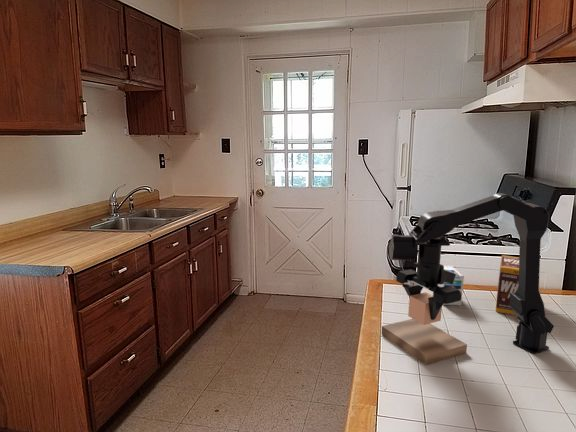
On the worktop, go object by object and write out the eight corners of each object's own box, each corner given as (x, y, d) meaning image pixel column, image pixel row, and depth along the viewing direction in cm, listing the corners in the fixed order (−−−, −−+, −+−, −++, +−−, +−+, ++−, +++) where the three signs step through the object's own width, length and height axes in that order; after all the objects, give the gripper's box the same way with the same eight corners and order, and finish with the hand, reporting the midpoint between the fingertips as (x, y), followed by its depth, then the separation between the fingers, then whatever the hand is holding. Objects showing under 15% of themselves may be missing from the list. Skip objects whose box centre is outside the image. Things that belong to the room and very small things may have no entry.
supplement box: (495, 312, 136) (500, 266, 133) (496, 296, 149) (501, 254, 146) (531, 318, 131) (538, 272, 128) (529, 301, 144) (535, 258, 141)
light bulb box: (461, 305, 140) (464, 275, 138) (441, 305, 141) (444, 275, 138) (450, 293, 151) (453, 265, 149) (431, 293, 151) (434, 265, 149)
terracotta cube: (440, 320, 112) (442, 300, 111) (423, 324, 110) (425, 303, 109) (424, 312, 118) (426, 292, 117) (408, 316, 115) (409, 295, 114)
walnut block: (466, 354, 110) (467, 344, 110) (426, 366, 105) (427, 356, 104) (418, 326, 126) (419, 317, 126) (381, 335, 120) (381, 326, 120)
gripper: (479, 266, 106) (473, 323, 109) (426, 248, 122) (422, 297, 125) (447, 272, 101) (442, 331, 104) (396, 252, 117) (393, 304, 121)
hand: (424, 314), depth 114 cm, fingers closed on terracotta cube, 6 cm apart
